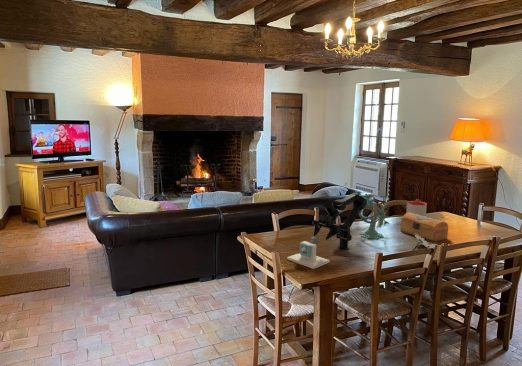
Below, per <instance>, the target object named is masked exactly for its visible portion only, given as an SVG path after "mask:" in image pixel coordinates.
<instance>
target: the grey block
mask: <svg viewBox="0 0 522 366" xmlns="http://www.w3.org/2000/svg"><path fill="white" fill-rule="evenodd" d="M309 243H313V244H316V256H318V237H316V236H315V237H314V236H312V237H310V239H309ZM301 250H302V251H306V250H307V248H306V247H302V248H301Z"/></svg>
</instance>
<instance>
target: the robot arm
mask: <svg viewBox="0 0 522 366" xmlns="http://www.w3.org/2000/svg"><path fill="white" fill-rule="evenodd" d="M363 197H364V196H363ZM363 197H362V196H361V195H359V194H357V193H355V192H353V193H351V194H350V195H348V196H346V197H343V198H342V199H335V200H332V199H328V200H326V201H324V202H323V204H322V206H323V208H324V209H325V211H326V212H327V213H328V214H326V215H325V214H320V215H319V217H318V220H317V219H313V220H312V222H311V223H312V225H313V226H314V230H313V237H316V236H317V234H318V233H319V232H320V231H321V229H322V228H324V229H329V232H328V233H327V235H326V237H325V240H326V241H328V240H329V239H331V238H332V237H334V236H336V239H339V245H337V248H339V250H350V247H349V242H351V240H352V238H353V236H352V235H351V227H352V225H354V222H355V220H356V218H357V216H358V215H359V211H362V209H364V208H365V209H366V207H367V206H366V205H367V203H368V202H367V201H366V199H365V198H363ZM351 203H352V208H351V210H350V211H349V214H348V215H347V217H346V218H345V220H344V223H342V224H341V223H340V224H339V225H337V224H336V223H337V222H336V220H337V218H338V217H341V212H343V211H344V210H345V209H347V206H348V205H350V204H351ZM365 206H366V207H365ZM365 209H364V210H365ZM340 211H341V212H340Z"/></svg>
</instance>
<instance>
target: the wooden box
mask: <svg viewBox="0 0 522 366" xmlns="http://www.w3.org/2000/svg"><path fill="white" fill-rule="evenodd" d="M400 232H403V233H406V234H410V235H412V234H413V235H412V236H415V235H416V234H418V235H419V236H420V235H421V237H422V238H424V239H425V238H426V239H425V240H428V239H429V240H428V241H431V240H432V241H431V242H439V241H442V239H443V240H447V239H446V238H448V234H449V224H448V223H447V222H445V221H442V220H439V219H435V218H432V217H428V216H422V215H418V214H413V213H407V212H405V213H404V215H403V216H402V217H401V222H400Z"/></svg>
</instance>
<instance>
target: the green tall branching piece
mask: <svg viewBox="0 0 522 366" xmlns="http://www.w3.org/2000/svg"><path fill="white" fill-rule="evenodd" d="M361 193H362V192H361V191H357V192H356V194H359V195H360V196H361V197H363V198H365V199H366V201H367V205H366V206H365V208H364V209H362V210H361V211H359V213H358V215H359V218H360V219H361V221H362V222H364V223H367V224H369V227H368V229H366V230H365V231H364V232H360V233H358V234H359V235H360V237H361V238H365V239H368V240H380V239H384V238H385V236H384V235H383V234H382V233H378V231H377V230H376V229H375V226H374V224H375V223H377V222H378V221H380V220H383V225H384V227H386V225H390V222H389V221H387V220H385V219H386V218H387V217H386V216H387V214H385V213H384V212H383V211H384V210H385V208H386V205H387V202H385V203H384V205H383V206H382V208H379V207H378V206H377V205H376V204H375V203H374V201H375V198H372V199H369V198H368V193H365V194H364V195H365V196H363V194H361ZM366 207H367V208H368V209H369V210H370V211H372V213H374V214H373V215H371V216H364V215H363V214H364V210H365V209H366ZM375 208H376V209H375ZM375 217H379V218H377V219H375V220H374V218H375Z"/></svg>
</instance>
